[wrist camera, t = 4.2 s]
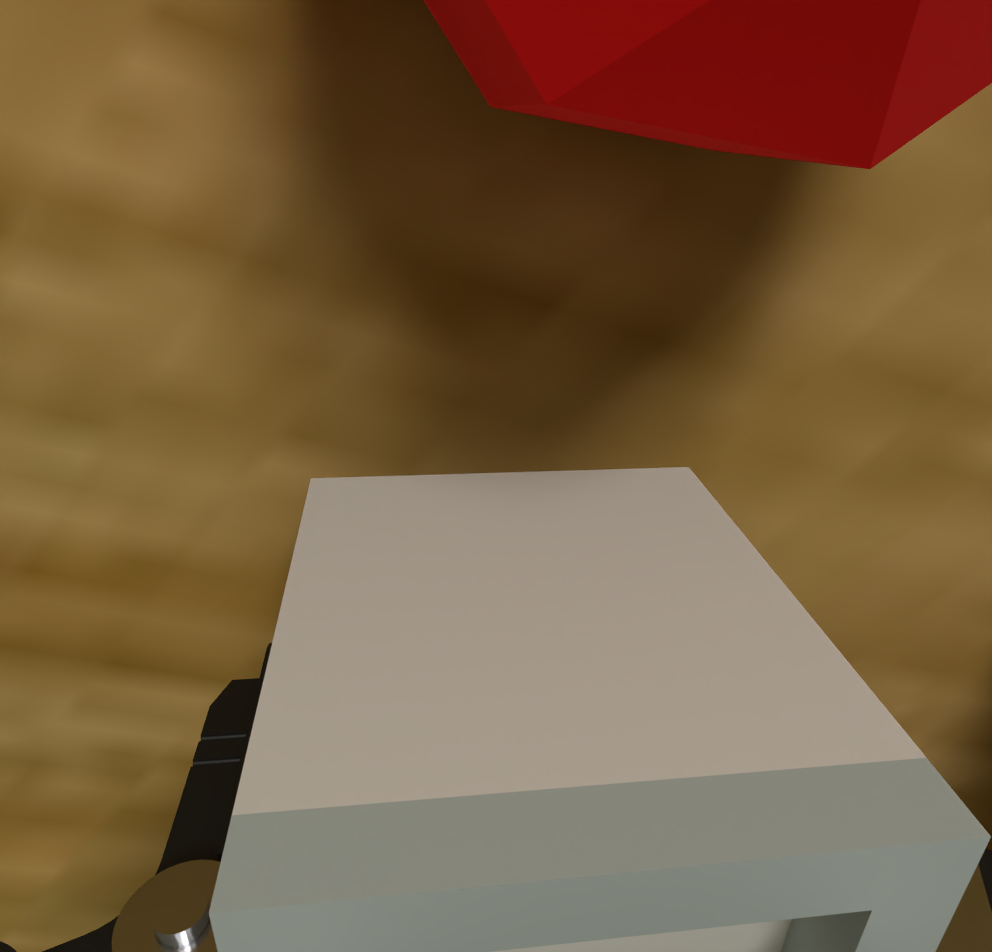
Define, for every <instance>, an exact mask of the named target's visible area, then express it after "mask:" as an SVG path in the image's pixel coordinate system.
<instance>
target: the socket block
mask: <svg viewBox="0 0 992 952" xmlns="http://www.w3.org/2000/svg"><path fill="white" fill-rule="evenodd" d="M990 838H991V836H990V835H989V833H988V832H987V831H986V830H985V829H984V827H983V826H982V825H981V824H980V822H979V821H978V820H977V819H976V818H975V816H974V815H973V814H972V813H971V811H970V810H969V809H968V808H967V807H966V805H965V804H964V803H963V802H962V801H961V799H960V798H959V797H958V796H957V794H956V793H955V792H954V791H953V790H952V788H951V787H950V786H949V785H948V783H947V782H946V781H945V780H944V779H943V777H942V776H941V775H940V774H939V772H938V771H937V770H936V769H935V768H934V766H933V765H932V764H931V763H930V761H929V760H928V759H927V758H926V757H925V755H924V754H923V753H922V752H921V750H920V749H919V748H918V747H917V746H916V744H915V743H914V742H913V741H912V739H911V738H910V737H909V736H908V735H907V733H906V732H905V731H904V730H903V728H902V727H901V726H900V725H899V724H898V722H897V721H896V720H895V719H894V717H893V716H892V715H891V714H890V713H889V711H888V710H887V709H886V708H885V706H884V705H883V704H882V703H881V702H880V700H879V699H878V698H877V697H876V695H875V694H874V693H873V692H872V691H871V689H870V688H869V687H868V686H867V684H866V683H865V682H864V681H863V680H862V678H861V677H860V676H859V675H858V673H857V672H856V671H855V670H854V669H853V667H852V666H851V665H850V664H849V662H848V661H847V660H846V659H845V658H844V656H843V655H842V654H841V653H840V651H839V650H838V649H837V648H836V647H835V645H834V644H833V643H832V642H831V640H830V639H829V638H828V637H827V636H826V634H825V633H824V632H823V631H822V629H821V628H820V627H819V626H818V625H817V623H816V622H815V621H814V620H813V618H812V617H811V616H810V615H809V614H808V612H807V611H806V610H805V609H804V607H803V606H802V605H801V604H800V603H799V601H798V600H797V599H796V598H795V596H794V595H793V594H792V593H791V592H790V590H789V589H788V588H787V587H786V585H785V584H784V583H783V582H782V581H781V579H780V578H779V577H778V576H777V574H776V573H775V572H774V571H773V570H772V568H771V567H770V566H769V565H768V563H767V562H766V561H765V560H764V559H763V557H762V556H761V555H760V554H759V552H758V551H757V550H756V549H755V548H754V546H753V545H752V544H751V543H750V541H749V540H748V539H747V538H746V537H745V535H744V534H743V533H742V532H741V530H740V529H739V528H738V527H737V526H736V524H735V523H734V522H733V521H732V519H731V518H730V517H729V516H728V515H727V513H726V512H725V511H724V510H723V508H722V507H721V506H720V505H719V504H718V502H717V501H716V500H715V499H714V497H713V496H712V495H711V494H710V493H709V491H708V490H707V489H706V488H705V487H704V485H703V484H702V483H701V482H700V480H699V479H698V478H697V477H696V476H695V474H694V473H693V472H692V471H691V469H690V468H689V467H675V468H641V469H608V470H575V471H541V472H508V473H475V474H441V475H408V476H374V477H341V478H311V480H310V485H309V489H308V493H307V497H306V502H305V506H304V510H303V514H302V519H301V523H300V527H299V531H298V536H297V540H296V544H295V549H294V553H293V557H292V561H291V566H290V570H289V574H288V578H287V583H286V587H285V591H284V595H283V600H282V604H281V608H280V612H279V617H278V621H277V625H276V629H275V634H274V638H273V642H272V646H271V651H270V655H269V659H268V663H267V668H266V672H265V676H264V680H263V685H262V689H261V693H260V697H259V702H258V706H257V710H256V714H255V719H254V723H253V727H252V731H251V736H250V740H249V744H248V748H247V753H246V757H245V761H244V765H243V770H242V774H241V778H240V782H239V787H238V791H237V795H236V799H235V804H234V808H233V812H232V816H231V821H230V825H229V829H228V833H227V838H226V842H225V846H224V850H223V855H222V859H221V863H220V867H219V872H218V876H217V880H216V884H215V889H214V893H213V897H212V901H211V906H210V910H209V917H210V921H211V925H212V930H213V934H214V938H215V942H216V946H217V951H218V952H936V950H937V948H938V945H939V943H940V941H941V939H942V937H943V935H944V933H945V931H946V929H947V927H948V925H949V923H950V921H951V919H952V917H953V915H954V913H955V910H956V908H957V906H958V904H959V902H960V900H961V898H962V896H963V894H964V892H965V890H966V888H967V886H968V884H969V882H970V880H971V877H972V875H973V873H974V871H975V869H976V867H977V865H978V863H979V861H980V859H981V857H982V855H983V853H984V851H985V849H986V847H987V845H988V842H989V840H990Z"/></svg>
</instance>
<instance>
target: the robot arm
mask: <svg viewBox="0 0 992 952" xmlns="http://www.w3.org/2000/svg"><path fill="white" fill-rule="evenodd" d="M271 646H272V643H270V644H269V645H268V647H267V650H266V654H265V658H264V662H263V666H262V671H261V675H260V678H257V679H241V680H232V681H231V682H230V683H229V684H228V686H227V687H226V688H225V689H224V690H223V691H222V693H221V694H220V695H219V696H218V697H217V699H216V700H215V701H214V702H213V703H212V704H211V706H210V707H209V711H208V714H207V717H206V720H205V723H204V727H203V730H202V733H201V741H200V742H199V743H198V746H197V749H196V752H195V755H194V759H193V767H191V768H190V771H189V775H188V778H187V781H186V784H185V787H184V790H183V794H182V797H181V800H180V803H179V806H178V810H177V813H176V816H175V819H174V822H173V826H172V829H171V832H170V835H169V838H168V842H167V845H166V848H165V851H164V854H163V858H162V861H161V863H160V866H159V868H158V871H157V873H156V874H155V876H154V877H152V878H151V879H149V880H148V881H147V882H146V883H144V884H143V885H142V886H141V887H140V888H139V889H138V890H137V891H136V892H135V893H134V894H133V895H132V896H131V897H130V899H129V900H128V902H127V903H126V904H125V906H124V907H123V909H122V911H121V913H120V915H119V916H118V917H116V918H115V919H113V920H112V921H111V922H109V923H107V924H105V925H104V926H102V927H100V928H99V929H97V930H94V931H92V932H90V933H88V934H86V935H83V936H81V937H78V938H76V939H73V940H71V941H68V942H66V943H63V944H60V945H58V946H55V947H53V948H50V949H48V950H45V951H43V952H218V951H217V946H216V942H215V938H214V934H213V930H212V925H211V921H210V917H209V910H210V906H211V901H212V897H213V893H214V889H215V884H216V880H217V876H218V872H219V867H220V863H221V859H222V855H223V850H224V846H225V842H226V838H227V833H228V829H229V825H230V821H231V816H232V812H233V808H234V804H235V799H236V795H237V791H238V787H239V782H240V778H241V774H242V770H243V765H244V761H245V757H246V753H247V748H248V744H249V740H250V736H251V731H252V727H253V723H254V719H255V714H256V710H257V706H258V702H259V697H260V693H261V689H262V685H263V680H264V676H265V672H266V668H267V663H268V659H269V655H270V651H271ZM0 952H16V951H15V949H13V948H12V947H11V946H9V945H8V944H5V943H3V942H0ZM936 952H992V850H987V849H985V851H984V853H983V855H982V857H981V859H980V861H979V863H978V865H977V867H976V869H975V871H974V873H973V875H972V877H971V880H970V882H969V884H968V886H967V888H966V890H965V892H964V894H963V896H962V898H961V900H960V902H959V904H958V906H957V908H956V910H955V913H954V915H953V917H952V919H951V921H950V923H949V925H948V927H947V929H946V931H945V933H944V935H943V937H942V939H941V941H940V943H939V945H938V948H937V950H936Z"/></svg>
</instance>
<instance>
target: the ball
mask: <svg viewBox="0 0 992 952" xmlns="http://www.w3.org/2000/svg"><path fill="white" fill-rule="evenodd" d="M424 2H425V4H426V5H427V7H428V8H429V10H430V12H431V13H432V15H433V16H434V18H435V20H436V21H437V23H438V24H439V26H440V28H441V29H442V31H443V32H444V34H445V35H446V37H447V39H448V40H449V42H450V43H451V45H452V47H453V48H454V50H455V51H456V53H457V55H458V56H459V58H460V59H461V61H462V63H463V64H464V66H465V67H466V69H467V71H468V72H469V74H470V75H471V77H472V78H473V80H474V82H475V83H476V85H477V86H478V88H479V90H480V91H481V93H482V94H483V96H484V98H485V99H486V101H487V102H488V104H489V106H490V107H493V108H498V109H503V110H508V111H514V112H519V113H524V114H529V115H534V116H539V117H544V118H549V119H554V120H560V121H565V122H570V123H575V124H580V125H585V126H590V127H595V128H601V129H606V130H611V131H616V132H621V133H626V134H631V135H636V136H642V137H647V138H652V139H657V140H662V141H667V142H672V143H677V144H682V145H688V146H693V147H698V148H703V149H708V150H714V151H722V152H731V153H739V154H747V155H756V156H764V157H773V158H781V159H789V160H798V161H806V162H815V163H823V164H831V165H840V166H848V167H856V168H865V169H871V168H872V167H874V166H875V165H876V164H878V163H879V162H881V161H882V160H884V159H885V158H886V157H888V156H889V155H891V154H892V153H893V152H895V151H896V150H898V149H899V148H900V147H902V146H903V145H905V144H906V143H907V142H909V141H910V140H912V139H913V138H915V137H916V136H917V135H919V134H920V133H922V132H923V131H924V130H926V129H927V128H929V127H930V126H931V125H933V124H934V123H936V122H937V121H938V120H940V119H941V118H943V117H944V116H946V115H947V114H948V113H950V112H951V111H953V110H954V109H955V108H957V107H958V106H960V105H961V104H962V103H964V102H965V101H967V100H968V99H969V98H971V97H972V96H974V95H975V94H977V93H978V92H979V91H981V90H982V89H984V88H985V87H986V86H988V85H989V84H991V83H992V0H424Z"/></svg>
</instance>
